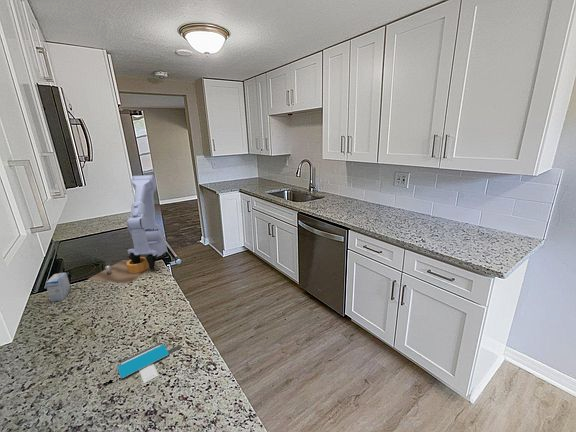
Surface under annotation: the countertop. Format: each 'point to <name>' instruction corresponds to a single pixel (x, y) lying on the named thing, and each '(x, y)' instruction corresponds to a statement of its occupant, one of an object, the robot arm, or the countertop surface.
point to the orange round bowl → (137, 266)
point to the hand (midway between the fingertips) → (145, 268)
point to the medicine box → (58, 287)
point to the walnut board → (118, 274)
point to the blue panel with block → (145, 362)
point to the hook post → (108, 270)
